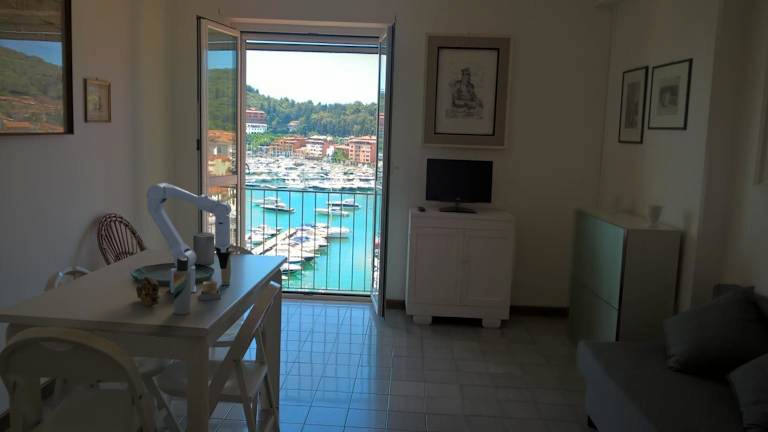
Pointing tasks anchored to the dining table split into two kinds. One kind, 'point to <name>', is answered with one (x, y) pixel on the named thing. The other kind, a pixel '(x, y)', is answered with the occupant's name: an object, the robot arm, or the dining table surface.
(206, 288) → the tan brown block
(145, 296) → the wooden carving
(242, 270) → the dining table surface
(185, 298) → the lotion bottle
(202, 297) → the end cap
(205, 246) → the pillar candle
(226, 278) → the handle
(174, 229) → the robot arm
